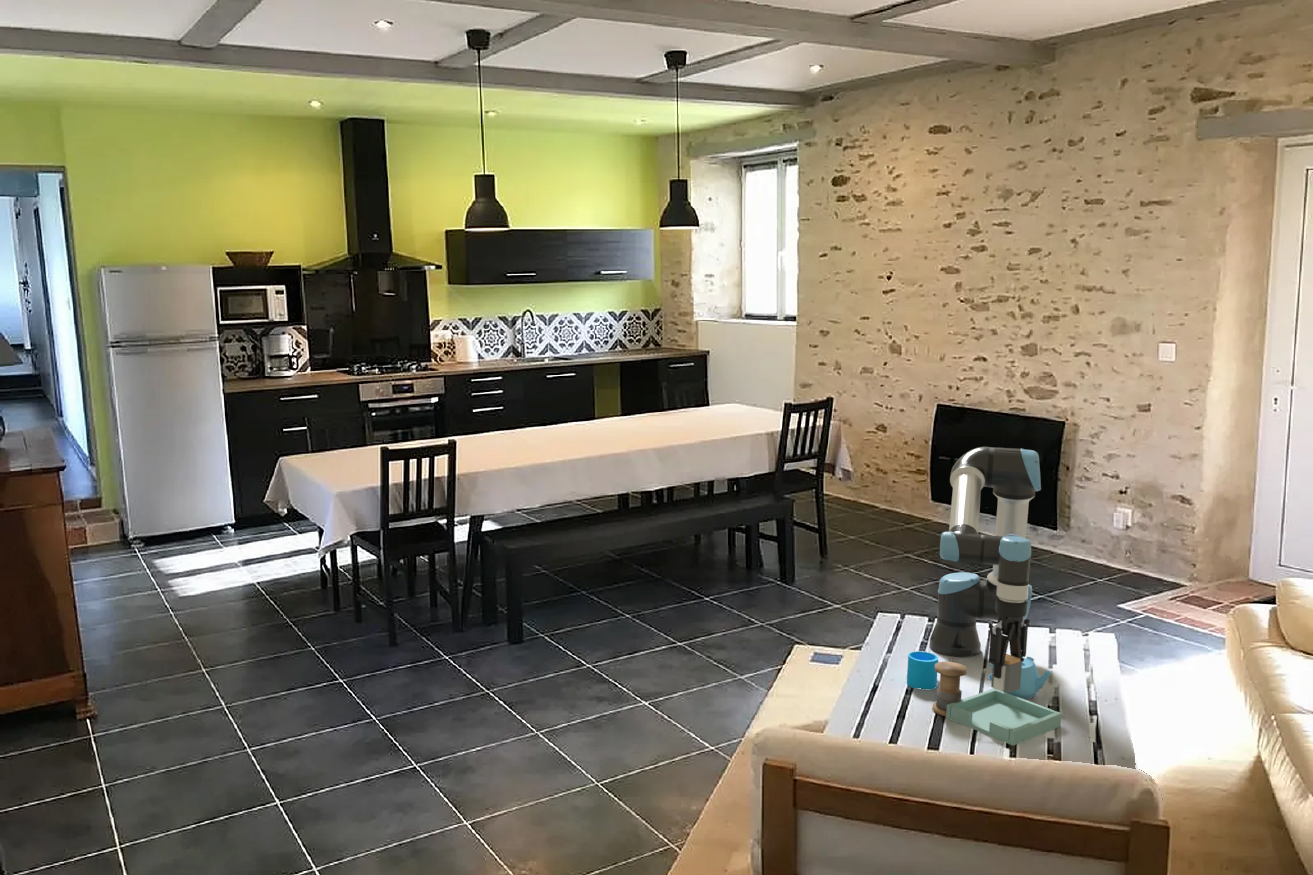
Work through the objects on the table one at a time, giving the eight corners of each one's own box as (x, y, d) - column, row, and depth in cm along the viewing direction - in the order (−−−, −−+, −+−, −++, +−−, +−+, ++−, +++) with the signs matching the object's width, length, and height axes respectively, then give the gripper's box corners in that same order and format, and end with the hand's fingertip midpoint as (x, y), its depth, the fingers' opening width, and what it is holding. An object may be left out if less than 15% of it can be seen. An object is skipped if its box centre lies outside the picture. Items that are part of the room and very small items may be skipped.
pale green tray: (993, 700, 282) (994, 688, 281) (1060, 726, 266) (1061, 713, 266) (946, 717, 270) (946, 704, 270) (1013, 745, 254) (1014, 732, 254)
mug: (927, 692, 287) (929, 663, 286) (901, 684, 292) (902, 656, 291) (948, 681, 296) (950, 653, 294) (922, 673, 301) (924, 646, 300)
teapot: (1052, 707, 278) (1055, 666, 276) (1001, 707, 278) (1004, 666, 276) (1030, 685, 293) (1033, 646, 292) (981, 685, 293) (984, 646, 291)
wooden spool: (945, 702, 280) (948, 659, 278) (970, 712, 274) (973, 668, 272) (925, 709, 275) (928, 665, 273) (950, 719, 269) (953, 674, 267)
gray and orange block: (1020, 689, 266) (1022, 658, 265) (1008, 693, 263) (1010, 662, 262) (1003, 682, 270) (1005, 653, 269) (991, 686, 267) (993, 656, 266)
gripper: (1020, 589, 272) (1013, 675, 275) (976, 600, 261) (970, 689, 264) (1045, 596, 266) (1039, 684, 269) (1002, 608, 255) (996, 699, 258)
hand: (1005, 687), depth 266 cm, fingers closed on gray and orange block, 5 cm apart
